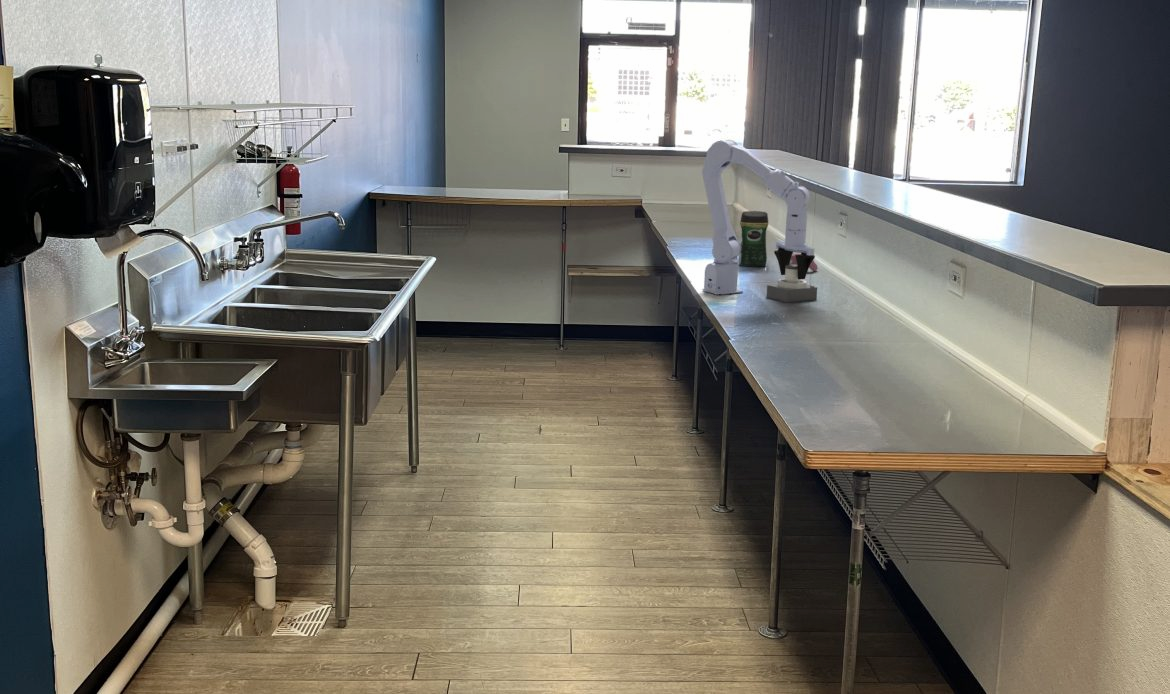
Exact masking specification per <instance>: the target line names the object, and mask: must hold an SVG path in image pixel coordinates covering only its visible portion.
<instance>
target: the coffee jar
mask: <svg viewBox="0 0 1170 694" xmlns="http://www.w3.org/2000/svg"><path fill="white" fill-rule="evenodd" d="M768 215H769V214H768V212H767V211H760V210H749V211H748V210H747V211H743V212H742V213H741V217H740V221H739V225H740V229H741V236H740V237H741V239H740V244H741V252H740V254H739V255H738V260H739V262H738V265H740V266H744V267H754V268H755V267H764V266H765V267H766V265H767V263H768V262H767V261H768V256H767V254H768V253H767V229H768V227H769V216H768Z"/></svg>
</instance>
